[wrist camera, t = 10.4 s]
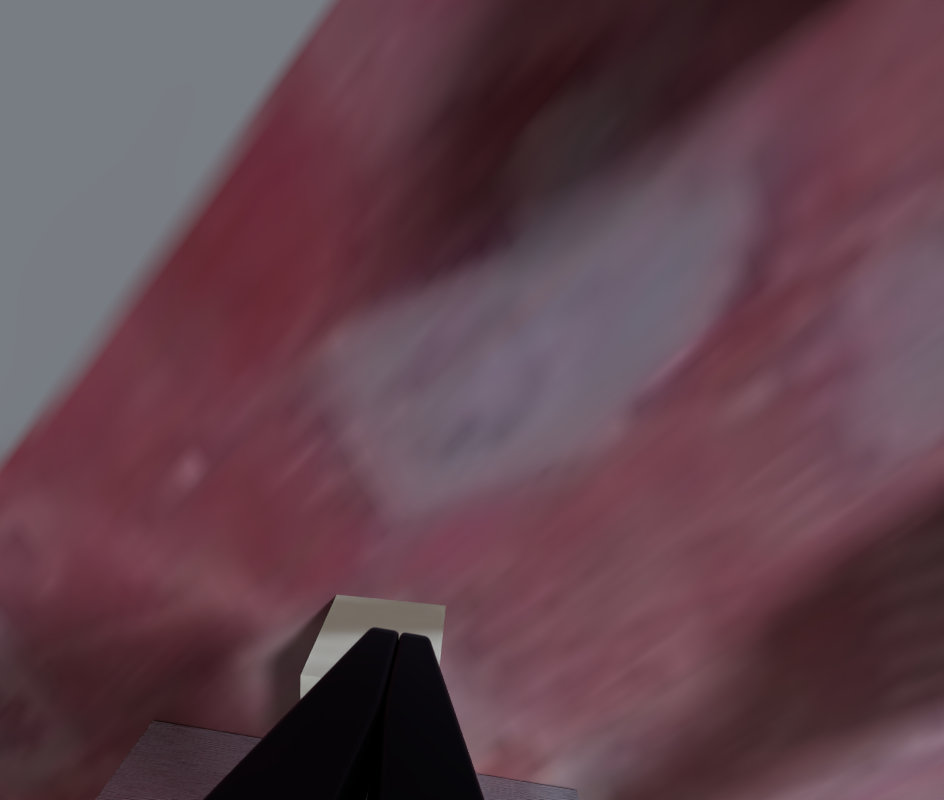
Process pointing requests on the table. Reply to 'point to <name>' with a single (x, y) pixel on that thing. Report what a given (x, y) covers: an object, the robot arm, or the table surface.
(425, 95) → the table surface
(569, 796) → the white arch-shaped block
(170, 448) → the table surface
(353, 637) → the plug
